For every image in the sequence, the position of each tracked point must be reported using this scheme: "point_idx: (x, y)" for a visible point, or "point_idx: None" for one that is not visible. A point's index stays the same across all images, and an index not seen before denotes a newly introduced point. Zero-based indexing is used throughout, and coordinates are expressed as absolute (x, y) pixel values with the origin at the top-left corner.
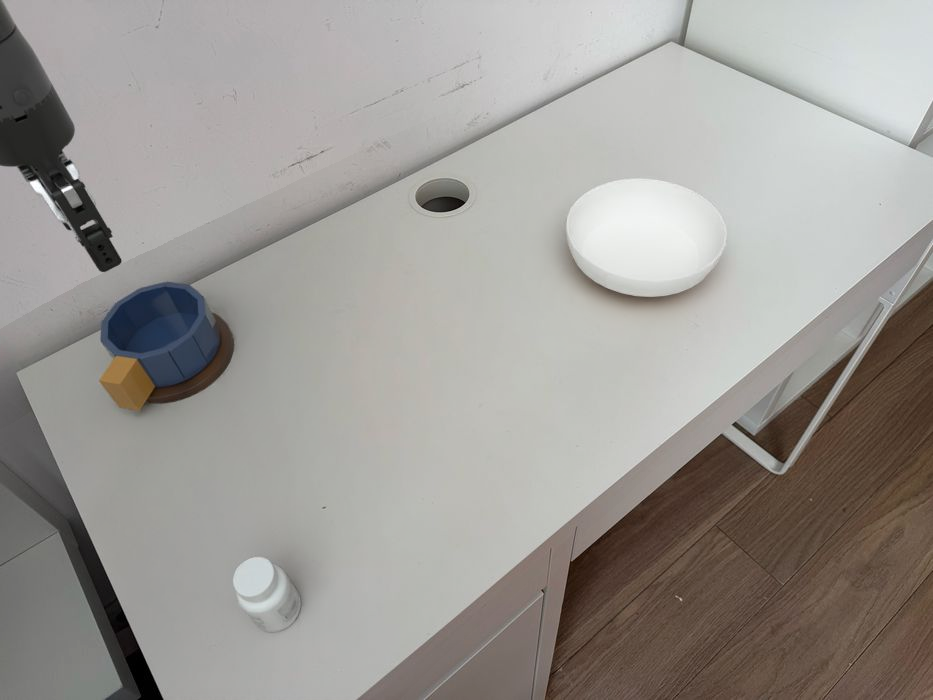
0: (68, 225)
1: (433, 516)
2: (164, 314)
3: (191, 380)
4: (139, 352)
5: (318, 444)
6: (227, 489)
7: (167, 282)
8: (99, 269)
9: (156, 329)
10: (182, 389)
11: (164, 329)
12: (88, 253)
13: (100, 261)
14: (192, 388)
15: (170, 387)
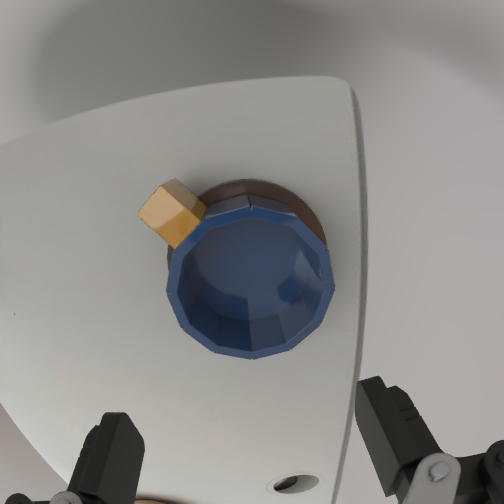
0: (363, 395)
1: (3, 362)
2: (307, 277)
3: None
4: (258, 227)
5: (63, 337)
6: (43, 253)
7: (317, 325)
8: (104, 417)
9: (288, 259)
10: (171, 255)
11: (281, 269)
12: (93, 459)
13: (82, 449)
14: (168, 266)
15: None
